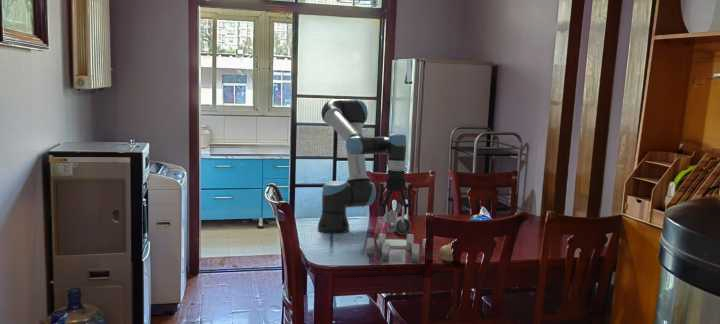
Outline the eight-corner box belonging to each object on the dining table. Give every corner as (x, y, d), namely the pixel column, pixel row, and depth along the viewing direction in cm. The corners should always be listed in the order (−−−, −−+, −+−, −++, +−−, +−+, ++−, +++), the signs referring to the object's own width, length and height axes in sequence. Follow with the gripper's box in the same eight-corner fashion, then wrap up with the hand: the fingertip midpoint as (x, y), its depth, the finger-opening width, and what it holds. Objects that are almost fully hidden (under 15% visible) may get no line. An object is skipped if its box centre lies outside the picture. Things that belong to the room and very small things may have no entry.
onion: (461, 263, 215) (462, 246, 214) (442, 264, 213) (443, 246, 212) (453, 257, 222) (454, 240, 222) (435, 257, 221) (436, 241, 220)
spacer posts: (367, 262, 212) (368, 244, 211) (364, 249, 229) (365, 233, 229) (433, 263, 213) (434, 245, 212) (425, 250, 231) (425, 234, 230)
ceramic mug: (405, 230, 265) (406, 214, 264) (410, 234, 257) (411, 218, 256) (385, 230, 263) (385, 215, 262) (389, 235, 255) (389, 219, 254)
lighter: (389, 223, 233) (389, 205, 232) (386, 222, 235) (387, 204, 234) (401, 221, 238) (402, 203, 237) (399, 220, 239) (399, 203, 238)
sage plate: (378, 248, 232) (378, 245, 232) (376, 241, 242) (376, 239, 242) (410, 248, 233) (410, 245, 233) (407, 242, 243) (407, 239, 242)
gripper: (374, 170, 229) (372, 223, 231) (420, 171, 230) (417, 224, 233) (373, 168, 236) (371, 219, 239) (417, 169, 237) (415, 220, 240)
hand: (394, 221), depth 236 cm, fingers closed on lighter, 7 cm apart
